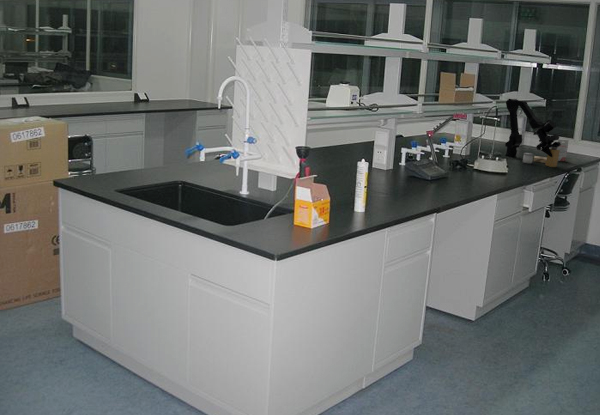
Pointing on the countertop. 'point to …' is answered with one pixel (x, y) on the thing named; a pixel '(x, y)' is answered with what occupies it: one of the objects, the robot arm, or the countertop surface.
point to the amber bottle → (552, 158)
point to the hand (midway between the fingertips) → (554, 156)
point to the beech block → (539, 159)
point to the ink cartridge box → (562, 150)
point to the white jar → (528, 157)
